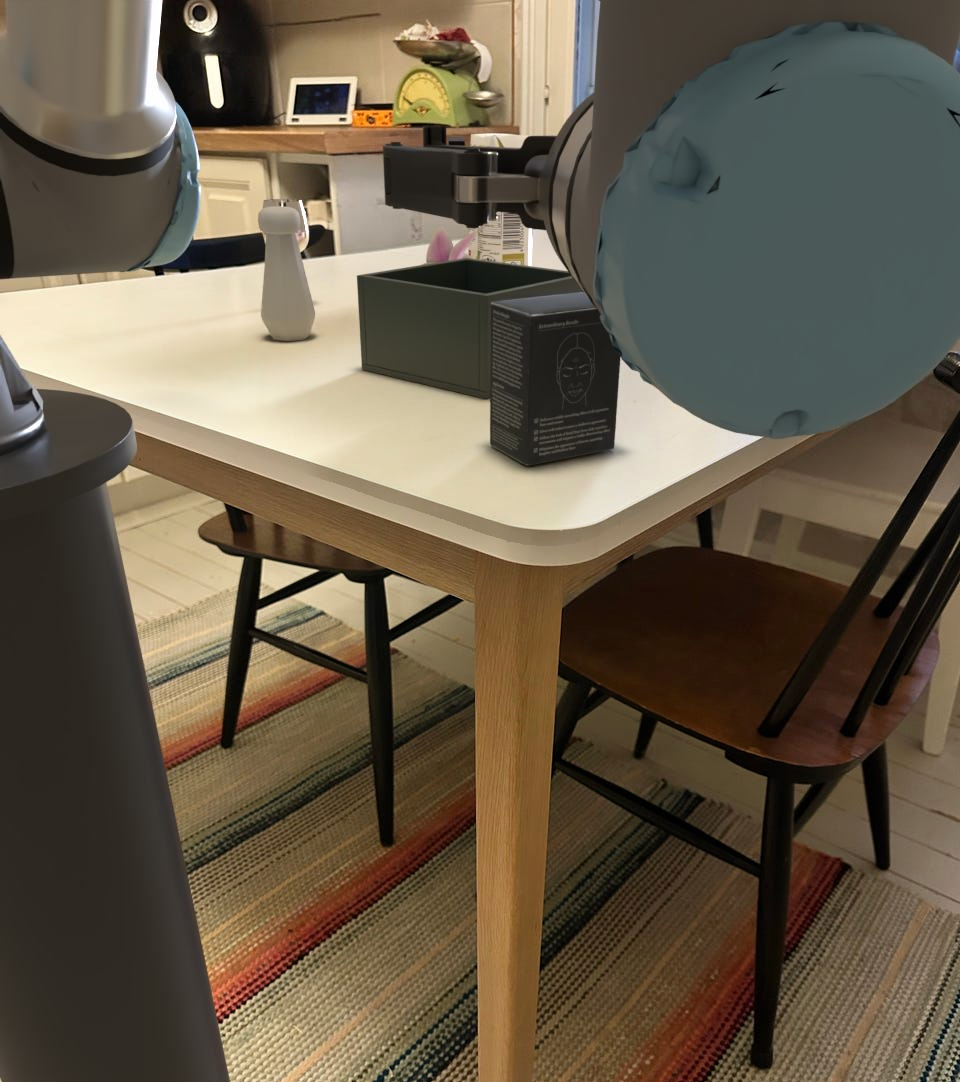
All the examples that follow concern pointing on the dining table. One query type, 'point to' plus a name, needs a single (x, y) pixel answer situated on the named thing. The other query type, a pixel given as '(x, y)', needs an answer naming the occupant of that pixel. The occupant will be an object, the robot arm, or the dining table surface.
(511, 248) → the juice carton
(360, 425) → the dining table surface
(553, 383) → the box
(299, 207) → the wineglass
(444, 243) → the lily
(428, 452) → the dining table surface
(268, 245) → the salt shaker
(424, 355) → the open storage bin
